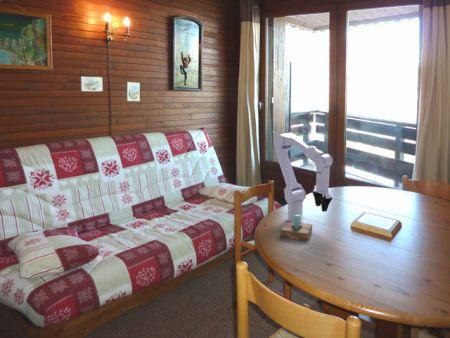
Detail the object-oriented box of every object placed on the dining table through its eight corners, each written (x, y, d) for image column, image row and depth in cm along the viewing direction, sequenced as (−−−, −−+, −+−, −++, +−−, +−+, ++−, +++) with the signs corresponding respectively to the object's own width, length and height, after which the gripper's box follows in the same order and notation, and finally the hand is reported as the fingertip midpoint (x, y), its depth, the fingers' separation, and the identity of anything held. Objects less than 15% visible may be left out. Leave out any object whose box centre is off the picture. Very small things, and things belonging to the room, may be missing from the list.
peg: (295, 232, 181) (296, 214, 179) (301, 234, 179) (301, 215, 177) (292, 234, 179) (292, 215, 177) (297, 236, 177) (298, 217, 175)
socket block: (286, 227, 187) (286, 220, 186) (312, 231, 182) (312, 224, 181) (280, 237, 176) (280, 230, 175) (307, 241, 171) (307, 233, 171)
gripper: (308, 177, 187) (307, 204, 190) (320, 185, 173) (318, 214, 176) (322, 176, 188) (321, 203, 191) (335, 184, 174) (333, 213, 177)
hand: (321, 208), depth 183 cm, fingers open, 7 cm apart
